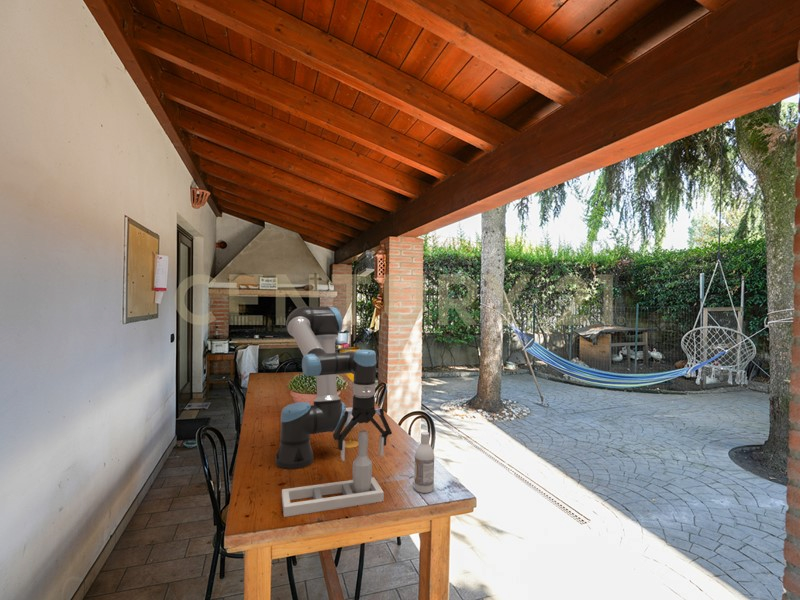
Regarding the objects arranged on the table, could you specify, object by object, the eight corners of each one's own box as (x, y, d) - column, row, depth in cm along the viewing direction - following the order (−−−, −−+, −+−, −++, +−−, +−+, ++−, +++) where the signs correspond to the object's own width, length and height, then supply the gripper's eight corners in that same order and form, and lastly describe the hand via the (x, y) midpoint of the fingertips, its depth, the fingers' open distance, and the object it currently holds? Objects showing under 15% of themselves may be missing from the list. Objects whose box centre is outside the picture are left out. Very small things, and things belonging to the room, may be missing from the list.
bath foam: (413, 484, 143) (415, 429, 144) (432, 484, 143) (433, 430, 144) (414, 493, 137) (415, 435, 137) (434, 493, 136) (435, 436, 137)
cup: (346, 449, 176) (347, 413, 176) (336, 443, 183) (337, 409, 183) (363, 445, 182) (364, 410, 182) (352, 439, 189) (353, 406, 189)
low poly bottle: (374, 495, 134) (376, 431, 134) (360, 502, 130) (362, 435, 130) (362, 489, 139) (363, 427, 139) (348, 495, 134) (350, 431, 134)
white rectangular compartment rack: (283, 517, 120) (284, 507, 120) (281, 498, 131) (281, 489, 131) (383, 501, 131) (383, 492, 131) (373, 485, 142) (373, 477, 142)
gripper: (329, 400, 127) (327, 465, 127) (401, 395, 135) (400, 457, 135) (325, 394, 134) (324, 456, 134) (394, 390, 142) (393, 449, 142)
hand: (362, 457), depth 135 cm, fingers open, 13 cm apart
